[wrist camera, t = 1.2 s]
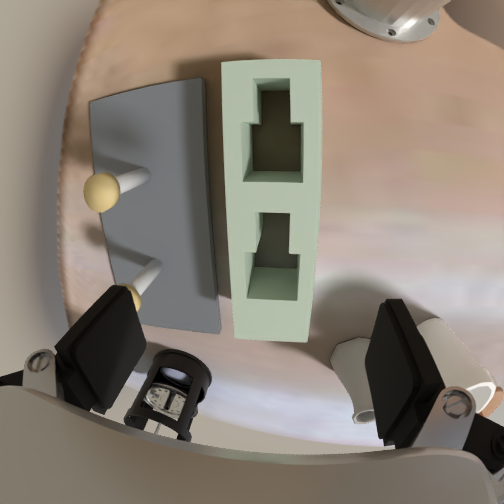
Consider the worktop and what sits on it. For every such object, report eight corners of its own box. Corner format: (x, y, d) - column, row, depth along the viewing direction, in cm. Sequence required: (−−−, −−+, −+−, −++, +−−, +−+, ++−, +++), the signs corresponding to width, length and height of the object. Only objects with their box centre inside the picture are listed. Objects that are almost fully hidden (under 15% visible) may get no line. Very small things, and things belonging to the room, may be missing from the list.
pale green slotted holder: (236, 76, 22) (221, 62, 16) (314, 76, 21) (320, 60, 15) (244, 303, 32) (234, 338, 26) (305, 306, 31) (307, 342, 25)
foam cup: (425, 366, 33) (449, 436, 21) (383, 351, 32) (404, 432, 21) (466, 319, 29) (506, 386, 17) (428, 298, 28) (472, 375, 17)
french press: (189, 341, 36) (122, 495, 15) (227, 383, 38) (189, 524, 18) (136, 358, 39) (70, 474, 19) (172, 394, 42) (126, 506, 21)
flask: (328, 375, 35) (331, 435, 26) (330, 338, 32) (336, 403, 23) (377, 370, 34) (390, 427, 25) (385, 332, 31) (405, 393, 22)
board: (96, 102, 24) (38, 103, 16) (205, 79, 22) (165, 59, 14) (131, 316, 35) (99, 359, 27) (221, 328, 34) (202, 382, 26)
